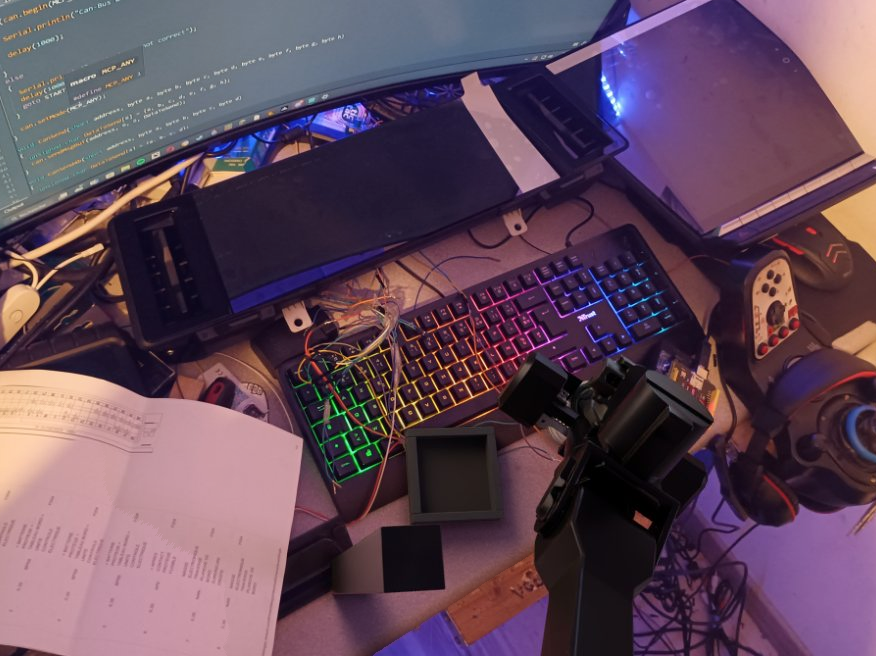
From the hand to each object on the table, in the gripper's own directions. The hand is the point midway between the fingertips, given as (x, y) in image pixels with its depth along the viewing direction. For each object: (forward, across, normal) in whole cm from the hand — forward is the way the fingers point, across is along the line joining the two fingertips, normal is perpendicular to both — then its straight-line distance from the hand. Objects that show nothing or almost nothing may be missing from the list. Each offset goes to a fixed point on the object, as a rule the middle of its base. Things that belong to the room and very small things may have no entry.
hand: (601, 400), depth 73 cm
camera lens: (+4, 0, +6) cm, 7 cm away
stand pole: (-15, +12, +24) cm, 31 cm away
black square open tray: (-5, +8, +14) cm, 17 cm away
